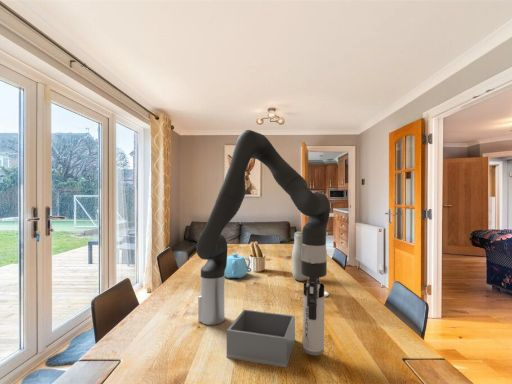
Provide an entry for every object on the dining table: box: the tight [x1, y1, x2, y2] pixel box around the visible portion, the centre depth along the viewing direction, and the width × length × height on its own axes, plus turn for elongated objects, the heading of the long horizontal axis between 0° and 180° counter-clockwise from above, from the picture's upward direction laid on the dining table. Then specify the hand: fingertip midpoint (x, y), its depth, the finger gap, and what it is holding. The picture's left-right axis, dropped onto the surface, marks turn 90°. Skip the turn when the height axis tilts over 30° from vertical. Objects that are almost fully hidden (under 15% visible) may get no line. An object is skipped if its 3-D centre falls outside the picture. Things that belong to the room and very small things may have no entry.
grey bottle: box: [291, 230, 309, 282], centre depth 162 cm, size 10×10×28 cm
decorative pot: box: [225, 253, 252, 279], centre depth 170 cm, size 16×16×14 cm
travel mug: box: [302, 281, 325, 356], centre depth 85 cm, size 6×7×20 cm
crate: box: [226, 309, 296, 368], centre depth 89 cm, size 18×16×8 cm
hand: (313, 314), depth 85 cm, fingers closed on travel mug, 6 cm apart
